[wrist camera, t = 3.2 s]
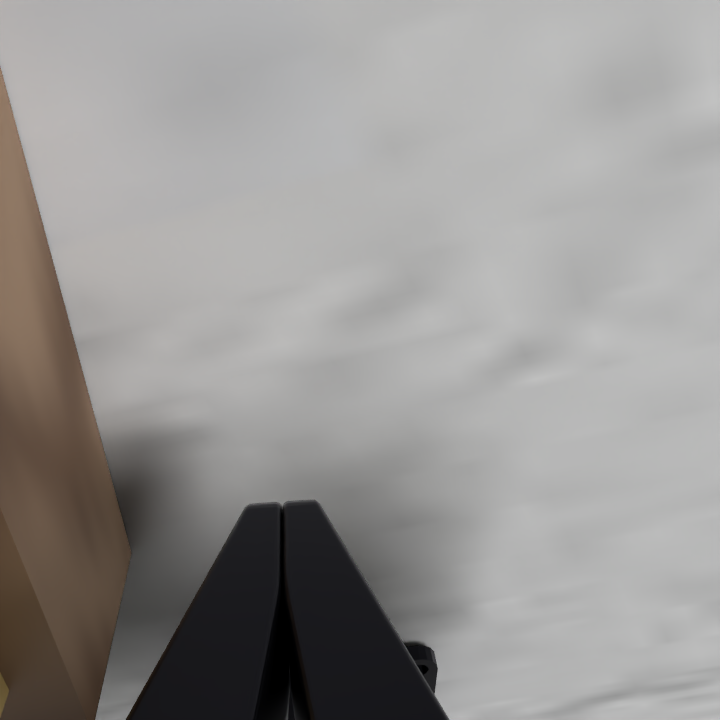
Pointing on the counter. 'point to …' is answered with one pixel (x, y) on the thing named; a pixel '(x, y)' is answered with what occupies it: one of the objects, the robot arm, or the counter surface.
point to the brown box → (48, 479)
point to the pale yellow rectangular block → (3, 693)
